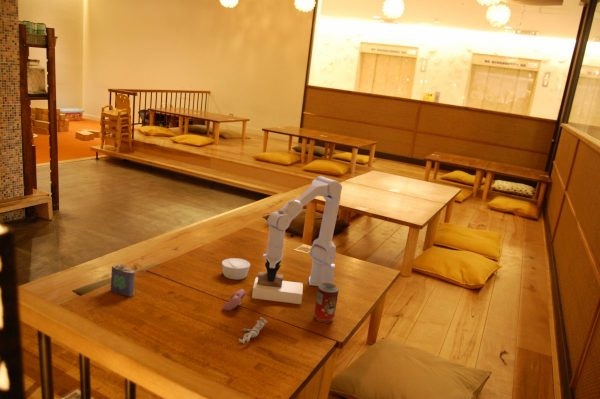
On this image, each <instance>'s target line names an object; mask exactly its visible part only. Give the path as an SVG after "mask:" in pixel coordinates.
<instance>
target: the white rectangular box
mask: <svg viewBox="0 0 600 399" xmlns="http://www.w3.org/2000/svg"><path fill="white" fill-rule="evenodd" d="M253 283H254V284H253V287H252V295H251V299H256V300H264V301H271V302H272V301H273V302H280V303H289V304H297V305H301V304H302V302H303V301H302V299H303V293H304V292H303V288H304V287H303V282H297V281H296V282H295V281H289V280H288V281H287V280H282V287H277V286H276V287H272V286H264V285H261V284H257V283H258V276H257V277H255V279H254V282H253Z"/></svg>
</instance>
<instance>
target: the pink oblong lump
mask: <svg viewBox="0 0 600 399" xmlns="http://www.w3.org/2000/svg"><path fill="white" fill-rule="evenodd" d="M246 294H247V291H246V290H244V289H242V288H241V289H239V290H236V291H235V292H234V293H232V294H231V295H230V300H229V301H226V302H225V303H224V304H223V305H222V310H224V311H231V310H232V309H233V310H235V308H236V307H237V306H241V304H242V302H241V301H242V299H244V297H245V296H246Z"/></svg>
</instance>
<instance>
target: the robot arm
mask: <svg viewBox="0 0 600 399" xmlns="http://www.w3.org/2000/svg"><path fill="white" fill-rule="evenodd" d="M342 189H343V186H342V184H341V183H340V181H338V180H334V179H331V178H329V177H325V176H323V175H319V176H317V177H315V179H313V180H312V181H311V185H310V186H309V187H308V188H306V190H304V192H302V194H301V195H300V196H298V198H297V199H290V200H289V201H287V203H286V204H284V205H283V206H282V207H281V208H280V209H278V210H277V211H273V212H271V213H270V214H269V215H268V218H266V219H267V220H266V223H267V225H268V230H269V232H268V239H267V246H266V253H263V255H262V257H263V258H265V261H264V262H265V263H264V266H265V268H266V273H267V277H268V281H270V282H274V280H275V276H276V274H278V271H279V269H280V268H281V263H282V260H283V253H284V252H283V251H284V245H285V244H284V243H285V237H286V235H285V234H286V230H287V229H288V228H289V227H290V225H291V223H292V221H293V220H294V219H295V218H296V217H297V216H298V215H300V214H301V213H302V212H303V207H304V206H305V205H307V204H308V203H310V202H311V201H312V200H314V199H315V198H317V197H323V199H324V200H325V205H324V210H323V213H322V218H321V219H322V220H321V224H320V228H319V229H320V230H319V234H318V237H317V238H316V239H315V240H313V242H312V246H311V248H310V249H309V256H310V257H311V261H312V263H311V270H310V276H308V286H316V287H318V286H319V285H320V284H323V283H330V284H333V283H334V278H335V269H336V264H335V263H334V262H335V261H336V257H337V253H336V249H337V246H336V245H335V243H334V242H333V237H334V231H335V228H336V227H335V226H336V222H337V219H338V218H337V217H338V211H339V207H340V202H341V194H342ZM333 285H334V284H333Z"/></svg>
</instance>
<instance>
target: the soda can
mask: <svg viewBox="0 0 600 399" xmlns="http://www.w3.org/2000/svg"><path fill="white" fill-rule="evenodd" d="M339 290H340V289H339V287H338V286H336V285H335V284H330V283H323V284H320V285H319V286H317V291H316V292H317V293H316V300H315V306H314V316H315V320H316V321H318V322H321V323H325V324H327V323H330V322H332V321H333V319H334V317H335V315H336V308H337V302H338V297H339Z"/></svg>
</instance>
